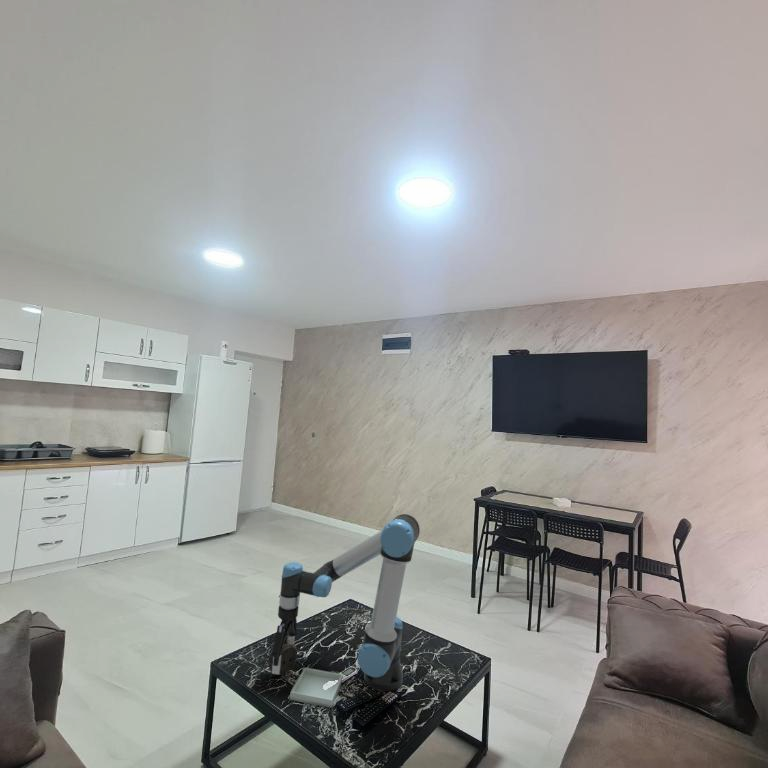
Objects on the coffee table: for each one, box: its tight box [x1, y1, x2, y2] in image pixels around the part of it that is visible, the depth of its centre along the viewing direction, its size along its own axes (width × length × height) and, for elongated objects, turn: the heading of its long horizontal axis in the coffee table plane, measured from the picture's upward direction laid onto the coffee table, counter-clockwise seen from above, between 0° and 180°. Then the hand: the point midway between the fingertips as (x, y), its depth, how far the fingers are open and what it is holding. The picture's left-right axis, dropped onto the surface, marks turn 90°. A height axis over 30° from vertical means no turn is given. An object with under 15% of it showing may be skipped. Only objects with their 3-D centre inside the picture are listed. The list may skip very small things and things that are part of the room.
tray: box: [289, 667, 344, 709], centre depth 152 cm, size 15×15×2 cm
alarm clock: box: [267, 632, 298, 679], centre depth 159 cm, size 11×5×16 cm, turn 137°
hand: (282, 663), depth 159 cm, fingers open, 13 cm apart
